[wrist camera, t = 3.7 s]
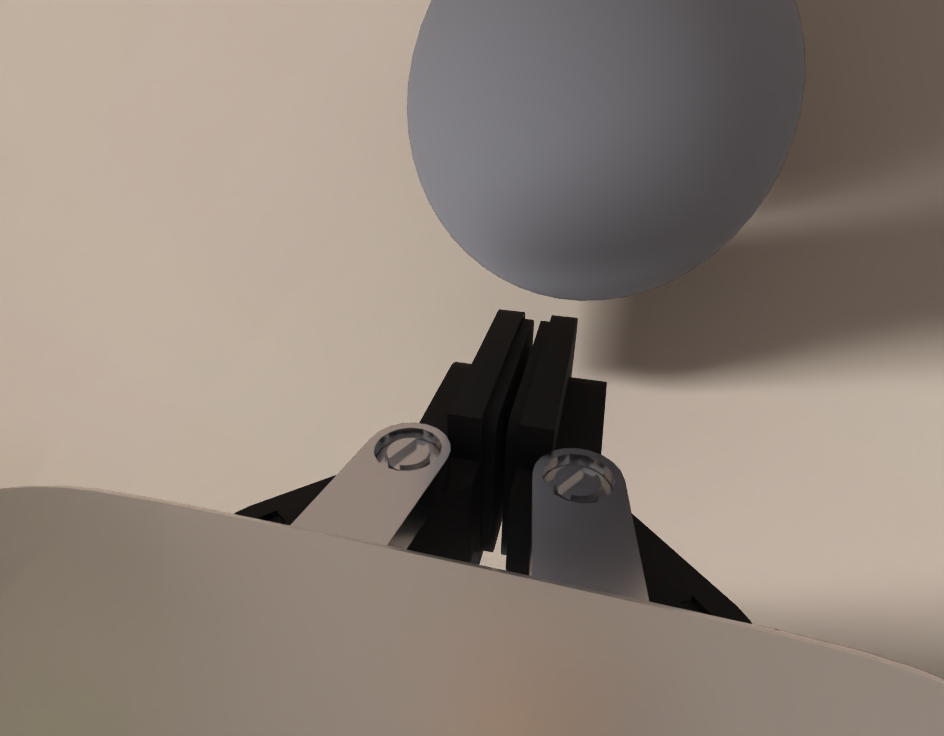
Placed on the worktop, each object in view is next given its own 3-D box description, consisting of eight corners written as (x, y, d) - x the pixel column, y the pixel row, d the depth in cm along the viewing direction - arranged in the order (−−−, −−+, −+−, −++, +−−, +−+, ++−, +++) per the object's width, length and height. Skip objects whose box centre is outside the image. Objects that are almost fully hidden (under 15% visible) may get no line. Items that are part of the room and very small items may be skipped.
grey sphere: (811, -80, 9) (1004, -219, 4) (712, 256, 11) (759, 399, 7) (471, -88, 10) (316, -203, 5) (458, 223, 13) (353, 328, 8)
